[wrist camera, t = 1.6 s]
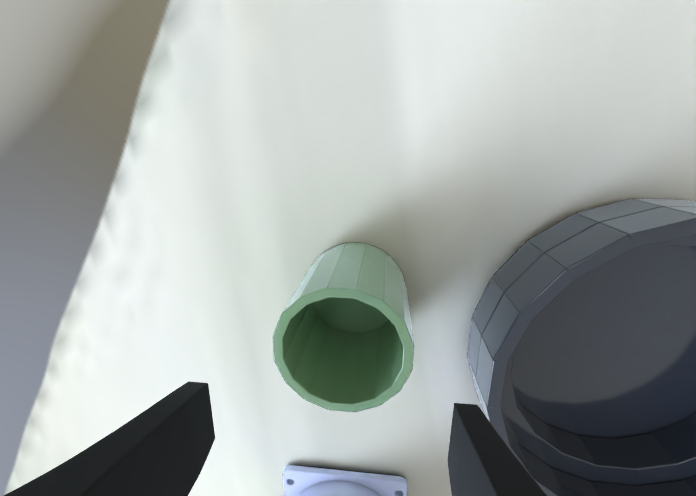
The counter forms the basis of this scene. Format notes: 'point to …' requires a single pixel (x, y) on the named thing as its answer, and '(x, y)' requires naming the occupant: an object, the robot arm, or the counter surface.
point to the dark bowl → (596, 351)
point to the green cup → (347, 330)
